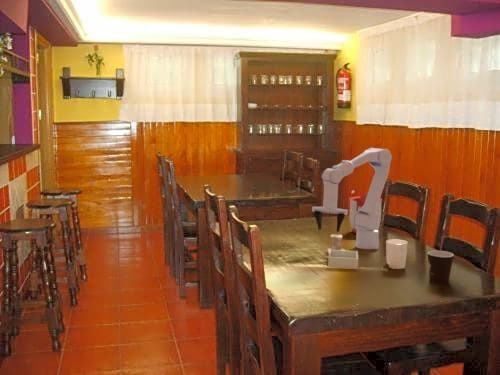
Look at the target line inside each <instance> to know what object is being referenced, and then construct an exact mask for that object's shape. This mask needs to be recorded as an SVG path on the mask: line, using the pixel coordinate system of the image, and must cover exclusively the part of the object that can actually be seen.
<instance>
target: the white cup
mask: <svg viewBox="0 0 500 375" xmlns="http://www.w3.org/2000/svg"><path fill="white" fill-rule="evenodd" d="M408 242H409V241H407V240H404V239H398V238H397V239H396V238H391V239H387V240H386V241H385V247H386V248H385V251H386V256H385V258H386V264H387V266H388V268H389V269H392V270H402V269H405V268H406V260H407V253H408V252H407V251H408Z"/></svg>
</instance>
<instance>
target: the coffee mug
mask: <svg viewBox="0 0 500 375" xmlns="http://www.w3.org/2000/svg"><path fill="white" fill-rule="evenodd" d="M454 257H455V256H454V253H453V252H450V251H445V250H430V251H428V252H427V262H428V275H429V277H428V278H429V280H428V281H429V282H430V283H433V284H435V285H448V284H449V283H450V277H451V271H452V267H453V266H452V265H453V261H454V260H453V259H454Z"/></svg>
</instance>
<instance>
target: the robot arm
mask: <svg viewBox="0 0 500 375" xmlns="http://www.w3.org/2000/svg"><path fill="white" fill-rule="evenodd" d="M392 159H393V156H392V153H391V152H390V150H389V149H387V148H384V149H383V148H375V147H369V148H368V149H365V150H364V151H363V152H362V153H361V154H359V155H357V156H356V157H354V158H352V159H351V160H345V159H343V160H341V162H339V163H338V164H337V165H333V166H332V167H331V168H330V167H329V168H328V167H327V168H326V169H325V170H324V171H323V172H322V174H321V179H322V182H323V185H324V186H323V203H322V206H312V208H311V212H313V215H314V216H313V217H314V218H315V221H316V223H317V230H319V231H320V230H322V224H323V223H322V220H323V214H334V215H336V233H339V232H340V229H341V226H342V223H343V221H344V219H345V217H346V216H347V215H348V213H349V209H343V208H338V196H339V192H338V191H339V183H341V181H342V179H343V178H344V177H346V176H348V175H351V174H353V172H354V169H355V168H358V167H359V166H361V165H363V164H366V163H369V165H370V166H371V167H372V168H373V169H374V174H373V177H372V180H371V184H370V186H369V188H368V192H367V193H368V194H367V197H366V200H365V203H364V205H363V206H362V207H361V208H359V209H358V212H357V213H356V214H355V216H354V218H353V222H354V224H355V225H356V228H357V234H356V238H355V239H356V240H355V244H356V245H355V247H356V248H358V249H359V250H360V249H362V250H378V249H379V246H380V242H379V229H378V230H375V228H376V227H377V225H378V217H379V214H378V213H377V211H376V208H377V205H378V202H379V200H380V198H381V197H382V193H383V191H384V188H385V185H386V182H387V180H388V176H389V173H390V168H391V167H390V166H391V162H392ZM367 214H369V215H367Z"/></svg>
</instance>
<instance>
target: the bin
mask: <svg viewBox="0 0 500 375" xmlns="http://www.w3.org/2000/svg"><path fill="white" fill-rule="evenodd" d="M358 251H359V250H329V253H328V261H327V262H328V263H327V264H328V266H327V268H333V269H336V268H337V269H349V270H350V269H352V270H353V269H354V270H358V269H359V252H358Z"/></svg>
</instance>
